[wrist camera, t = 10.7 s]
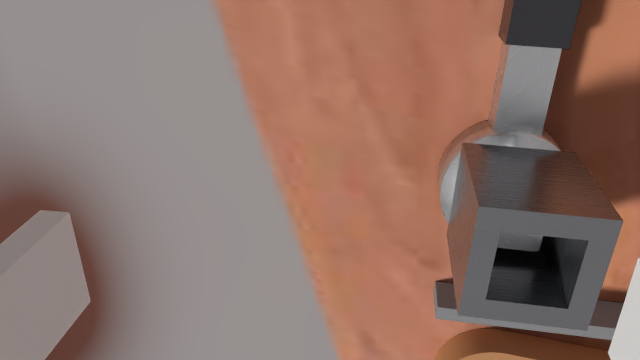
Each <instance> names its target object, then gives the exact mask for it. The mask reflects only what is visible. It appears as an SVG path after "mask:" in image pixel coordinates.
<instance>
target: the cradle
mask: <svg viewBox="0 0 640 360" xmlns="http://www.w3.org/2000/svg"><path fill="white" fill-rule="evenodd" d="M434 303H435V316H436V319H443V320H451V321H460V322H468V323H476V324H484V325H492V326H500V327H509V328H517V329H525V330H533V331H541V332H549V333H558V334H566V335H574V336H582V337H590V338H598V339H607V340H612V339H613V336H614V332H615V329H616V326H617V323H618V320H619V317H620V314H621V311H622V308H623V304H624V303H619V302H610V301H602V300H597V303H596V306H595V309H594V312H593V315H592V318H591V321H590V324H589V327H588V330H587V331H583V330H575V329H567V328H559V327H550V326H542V325H534V324H525V323H517V322H509V321H500V320H492V319H484V318H475V317H467V316H459V315H458V313H457V306H456V298H455V291H454V284H453V283H446V282H437V281H435V287H434Z"/></svg>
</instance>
